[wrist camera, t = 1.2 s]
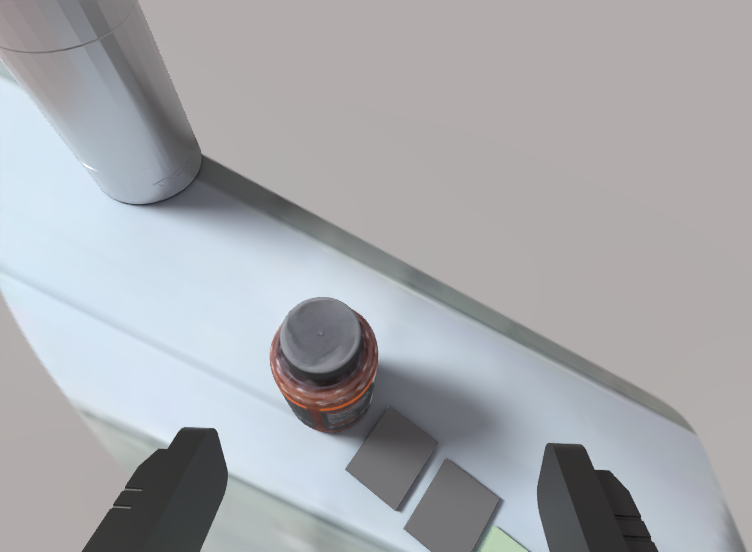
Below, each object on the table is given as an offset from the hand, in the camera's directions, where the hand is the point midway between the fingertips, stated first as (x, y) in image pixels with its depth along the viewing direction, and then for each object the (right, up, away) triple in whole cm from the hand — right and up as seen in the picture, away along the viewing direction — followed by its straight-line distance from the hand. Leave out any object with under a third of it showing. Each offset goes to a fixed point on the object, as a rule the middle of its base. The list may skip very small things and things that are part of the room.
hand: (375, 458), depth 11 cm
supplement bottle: (-3, -4, +21) cm, 21 cm away
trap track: (+5, -11, +17) cm, 21 cm away
